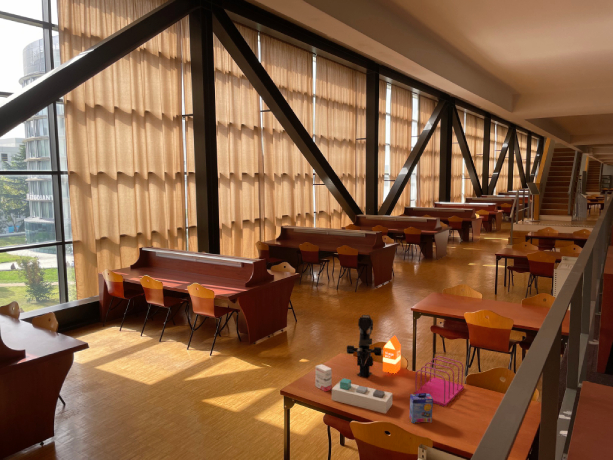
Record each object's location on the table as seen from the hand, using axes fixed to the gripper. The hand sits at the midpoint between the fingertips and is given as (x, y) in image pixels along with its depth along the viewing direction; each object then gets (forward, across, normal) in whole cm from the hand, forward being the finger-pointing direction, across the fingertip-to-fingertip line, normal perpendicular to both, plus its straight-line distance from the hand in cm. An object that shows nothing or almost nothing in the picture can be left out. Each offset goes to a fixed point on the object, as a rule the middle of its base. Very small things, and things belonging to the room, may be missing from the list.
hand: (363, 365), depth 257 cm
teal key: (+13, -8, -2) cm, 16 cm away
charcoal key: (+19, +9, -5) cm, 21 cm away
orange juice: (-9, +15, +29) cm, 34 cm away
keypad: (+19, 0, -1) cm, 19 cm away
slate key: (+17, 0, -3) cm, 17 cm away
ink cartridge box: (+28, +29, -10) cm, 41 cm away
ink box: (+11, -21, +8) cm, 25 cm away
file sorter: (+8, +40, +12) cm, 42 cm away
